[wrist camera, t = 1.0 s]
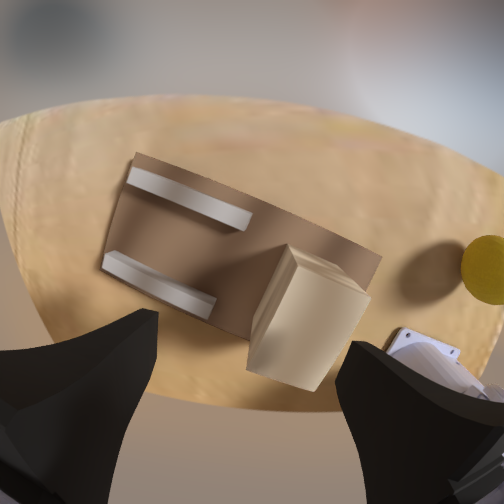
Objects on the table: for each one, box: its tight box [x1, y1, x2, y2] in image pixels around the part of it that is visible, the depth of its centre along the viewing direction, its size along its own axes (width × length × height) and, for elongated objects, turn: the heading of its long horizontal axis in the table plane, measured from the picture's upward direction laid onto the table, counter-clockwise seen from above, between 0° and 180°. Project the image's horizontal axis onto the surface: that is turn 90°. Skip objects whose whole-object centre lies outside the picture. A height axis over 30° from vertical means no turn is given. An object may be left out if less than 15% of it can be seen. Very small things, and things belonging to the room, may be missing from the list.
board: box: [100, 152, 382, 341], centre depth 19 cm, size 20×10×3 cm, turn 67°
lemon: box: [461, 235, 504, 305], centre depth 15 cm, size 6×6×8 cm
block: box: [246, 243, 371, 392], centre depth 16 cm, size 4×6×7 cm, turn 157°
